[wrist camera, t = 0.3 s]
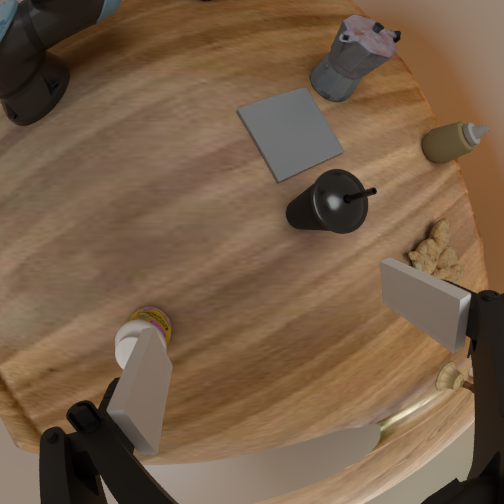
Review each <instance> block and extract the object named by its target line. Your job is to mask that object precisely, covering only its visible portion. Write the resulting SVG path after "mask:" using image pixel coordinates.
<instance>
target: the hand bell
mask: <svg viewBox="0 0 504 504" xmlns="http://www.w3.org/2000/svg"><path fill="white" fill-rule="evenodd" d="M460 386H461V387H463V388H466V389H469V390H470V391H472V392H473V393H474V384H471V383H469V382H467V381H464V375H463V374H462V373H460V372H459V371H457V369H456V366H455V364H454V363H453V362H448V363H447V364H446V365H445V366H444V367H443V368H442V369H441V371H440V373H439V375H438V377H437V381H436V388H437V390H439V391H442V390H444V389H447V388H449V389H454V390H457V389H458V388H459V387H460Z"/></svg>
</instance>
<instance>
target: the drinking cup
mask: <svg viewBox="0 0 504 504" xmlns="http://www.w3.org/2000/svg"><path fill="white" fill-rule="evenodd" d="M376 193H377V190H376V188H370V189H367V190H365V189H364V187H363V185H362V183H361V182H360V181H359V180H358V179H357V178H356V177H355V176H354V175H353V174H351V173H350V172H347V171H345V170H341V169H333V170H329V171H327V172H325V173H323V174H322V175H320V176H319V177H318V179H317V180H316V181H315V183H314V184H313V185H312V186H310V187H309V188H308V189H307V190H305V191H304V192H303V193H302V194H300V195H299V196H298V197H297V198H296V199H294V200H293V201H292V202H291V203H290V204H289V205H288V207H287V210H286V217H287V220H288V222H289V223H290V224H291V225H292V226H293V227H295V228H297V229H308V230H325V231H332V232H335V233H339V234H346V233H350V232H353V231H355V230H356V229H358V228H359V227H360V226H361V225H362V223H363V222H364V220H365V218H366V216H367V212H368V198H367V196H371V195H374V194H376Z"/></svg>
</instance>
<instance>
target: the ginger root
mask: <svg viewBox="0 0 504 504" xmlns="http://www.w3.org/2000/svg"><path fill="white" fill-rule="evenodd" d="M449 236H450V228H449V223H448V220H447V218H443V219H441V220H439V221H438V222H436V224H435V225H434V226H433V228H432V230H431V232H430V235H429V238H428V239H426V240H424V241H422V242H421V243H420V244H419V245H418V247H417V248H416V250H415V251H412V252H409V253H408V256H409V258H410V259H411V260H412V265H413V268H416V269H418V270H420V271H422V272H425V273H427V274H429V275H432V276H434V277H436V278H438V279H443V280H448V281H450V282H453V283H455V281H457V280H460V279H461V277H462V275H463V273H464V270H463V268H462V266H461V265H459V264H456V263H457V256H456V255H455V249H454V248H451V247H450V246H449V247H448V241H449Z"/></svg>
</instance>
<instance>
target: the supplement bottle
mask: <svg viewBox="0 0 504 504" xmlns="http://www.w3.org/2000/svg"><path fill="white" fill-rule="evenodd" d="M154 326H155V328H156V330H157V332H158V335H159V337H160V339H161V342H162V344H163V346H164V348H165V351H166V352H167V348H168V345H169V341H170V337H171V333H172V326H171V322H170V320H169V318H168V317H167V315H166V314H165V313H164V312H163V311H161V310H159V309H157V308H154V307H144V308H141V309H139V310H138V311H136V312H135V313H134V314H133V315H132V316H131V317H130V318H129V319H128V320H127V321H126V322H125V323H124V324H123V325H122V326H121V328H120V329H119V330H118V332H117V334H116V338H115V348H116V349H115V357H116V360H117V362H118V364H119V366H120V367H121V368H122V369H123V370H124V368H125V366H126V364H127V361H128V359H129V357H130V355H131V353H132V350H133V348H134V346H135V344H136V342H137V340H138V338H139V336H140V333H141V331H142V329H145V328H150V327H154Z"/></svg>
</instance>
